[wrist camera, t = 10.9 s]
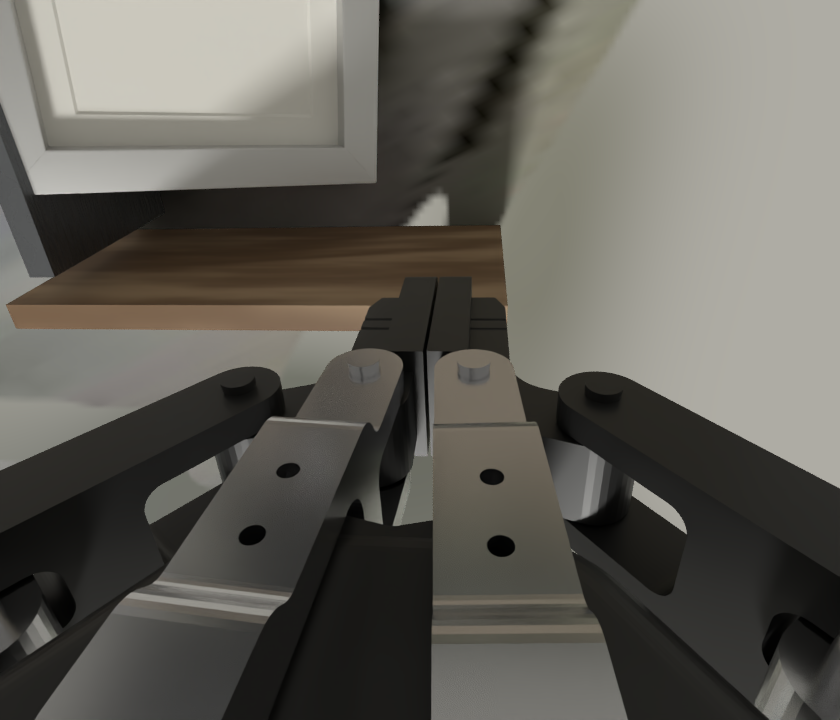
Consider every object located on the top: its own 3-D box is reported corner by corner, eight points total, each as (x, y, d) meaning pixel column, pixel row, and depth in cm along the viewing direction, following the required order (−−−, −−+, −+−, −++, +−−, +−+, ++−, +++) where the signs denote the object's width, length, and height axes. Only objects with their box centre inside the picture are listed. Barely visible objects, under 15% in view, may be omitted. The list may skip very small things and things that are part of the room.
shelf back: (135, 229, 44) (5, 304, 32) (500, 225, 41) (507, 305, 29) (141, 248, 45) (16, 328, 33) (499, 245, 42) (506, 331, 30)
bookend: (39, 34, 38) (-147, 37, 27) (117, 30, 37) (-40, 31, 26) (97, 213, 44) (-35, 277, 33) (165, 212, 43) (54, 277, 32)
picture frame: (376, 183, 38) (8, 195, 30) (362, 175, 40) (16, 185, 32) (381, -116, 31) (-104, -204, 23) (363, -105, 33) (-84, -183, 25)
